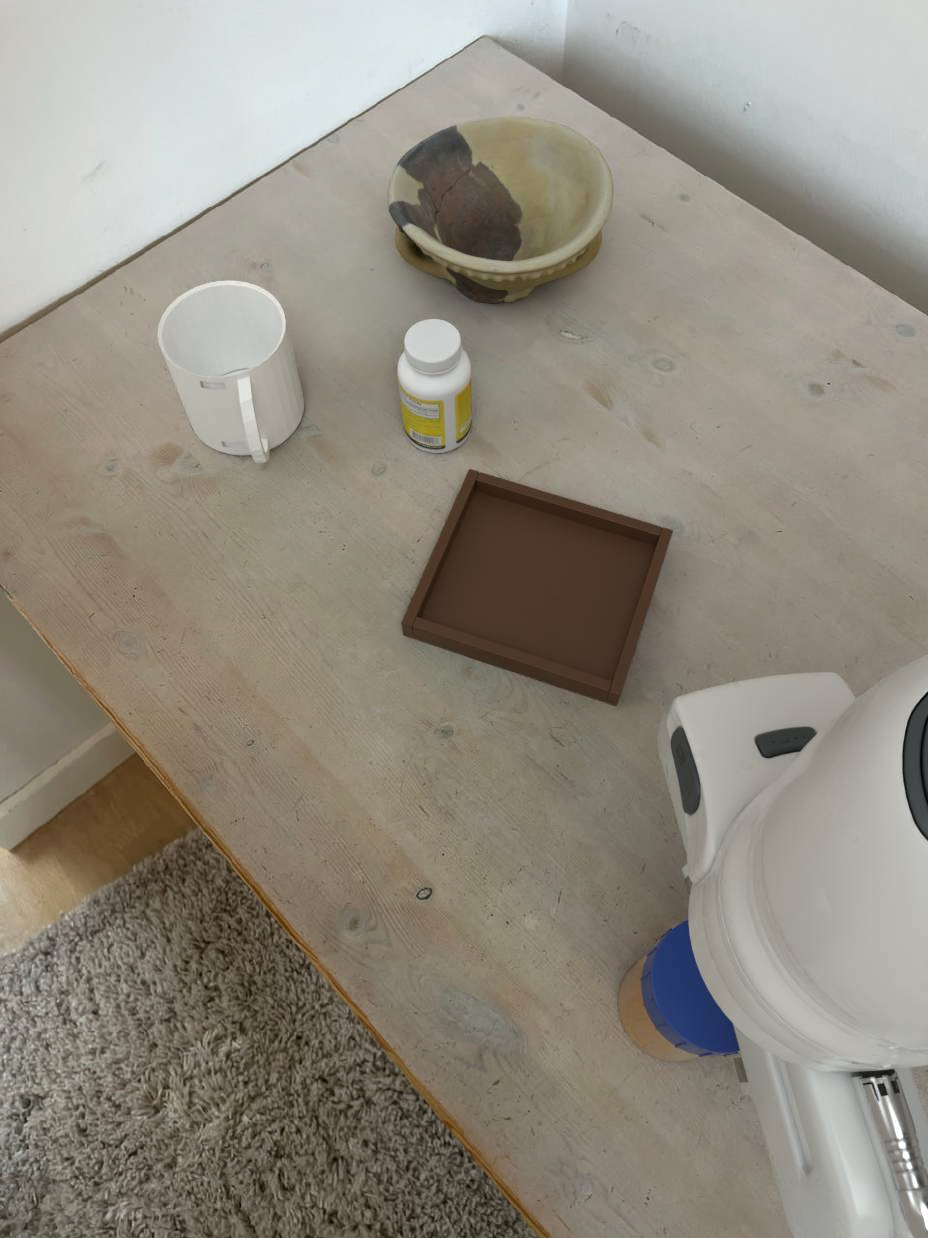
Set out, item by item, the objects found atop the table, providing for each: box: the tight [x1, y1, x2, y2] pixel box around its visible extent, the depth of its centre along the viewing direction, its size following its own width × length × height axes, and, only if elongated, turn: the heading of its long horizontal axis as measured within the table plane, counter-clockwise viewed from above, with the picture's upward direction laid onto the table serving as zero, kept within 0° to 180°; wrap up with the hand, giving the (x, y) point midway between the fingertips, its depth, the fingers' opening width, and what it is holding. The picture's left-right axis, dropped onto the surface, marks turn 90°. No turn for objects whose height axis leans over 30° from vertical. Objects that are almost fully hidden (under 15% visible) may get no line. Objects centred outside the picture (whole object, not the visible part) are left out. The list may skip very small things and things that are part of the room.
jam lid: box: [640, 919, 740, 1058], centre depth 48 cm, size 6×6×3 cm
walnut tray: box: [401, 468, 674, 707], centre depth 69 cm, size 16×14×2 cm
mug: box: [157, 279, 305, 465], centre depth 73 cm, size 12×9×9 cm
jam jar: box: [617, 951, 701, 1063], centre depth 52 cm, size 6×6×12 cm
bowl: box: [386, 115, 615, 304], centre depth 80 cm, size 18×18×10 cm
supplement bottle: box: [396, 318, 473, 454], centre depth 73 cm, size 5×5×10 cm
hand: (727, 974), depth 44 cm, fingers open, 7 cm apart
